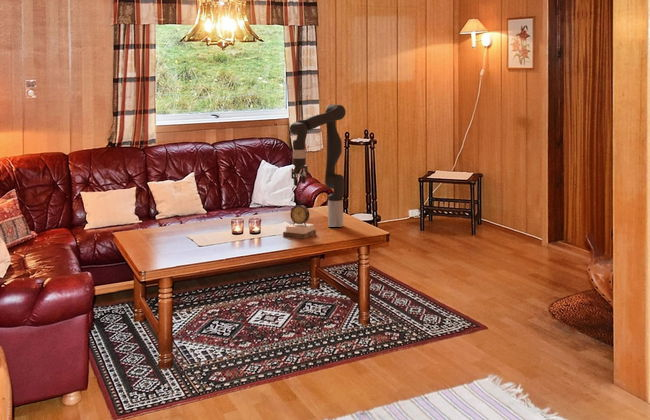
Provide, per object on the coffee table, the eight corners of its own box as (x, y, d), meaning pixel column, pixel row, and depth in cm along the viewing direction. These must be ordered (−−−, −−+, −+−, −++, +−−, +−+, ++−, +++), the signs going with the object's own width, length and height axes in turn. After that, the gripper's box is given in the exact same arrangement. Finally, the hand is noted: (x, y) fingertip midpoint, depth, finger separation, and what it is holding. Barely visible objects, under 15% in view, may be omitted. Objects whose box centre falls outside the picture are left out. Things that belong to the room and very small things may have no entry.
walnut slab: (296, 233, 431) (295, 227, 430) (315, 235, 424) (315, 230, 423) (283, 237, 419) (283, 232, 418) (303, 240, 412) (303, 234, 412)
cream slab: (296, 228, 429) (296, 222, 428) (313, 229, 424) (313, 224, 423) (286, 232, 418) (286, 226, 418) (304, 234, 413) (304, 228, 412)
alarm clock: (290, 225, 421) (290, 197, 417) (294, 223, 425) (294, 196, 422) (306, 227, 416) (306, 199, 412) (310, 225, 420) (310, 198, 417)
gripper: (298, 159, 407) (298, 187, 410) (311, 155, 419) (311, 183, 422) (287, 158, 410) (288, 186, 414) (300, 155, 422) (300, 182, 426)
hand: (299, 184), depth 418 cm, fingers open, 8 cm apart
